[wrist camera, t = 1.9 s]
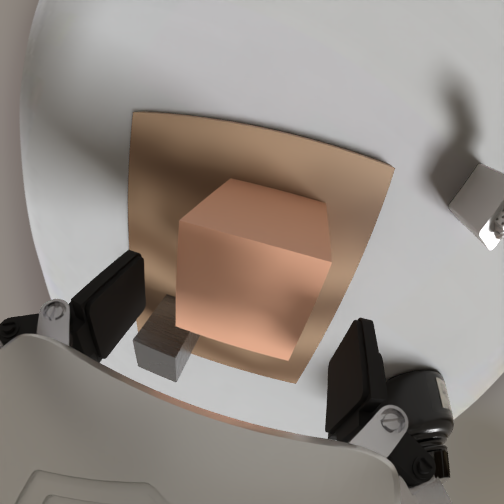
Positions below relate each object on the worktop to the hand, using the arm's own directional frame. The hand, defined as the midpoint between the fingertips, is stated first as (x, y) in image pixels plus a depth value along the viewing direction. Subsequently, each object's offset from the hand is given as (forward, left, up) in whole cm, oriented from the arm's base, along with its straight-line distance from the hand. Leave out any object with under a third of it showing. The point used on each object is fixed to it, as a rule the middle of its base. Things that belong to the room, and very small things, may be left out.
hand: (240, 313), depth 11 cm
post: (+8, -5, -7) cm, 12 cm away
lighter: (-9, +13, -8) cm, 18 cm away
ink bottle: (+13, +19, -8) cm, 25 cm away
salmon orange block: (-1, 0, -7) cm, 7 cm away
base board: (+3, -2, -8) cm, 9 cm away
